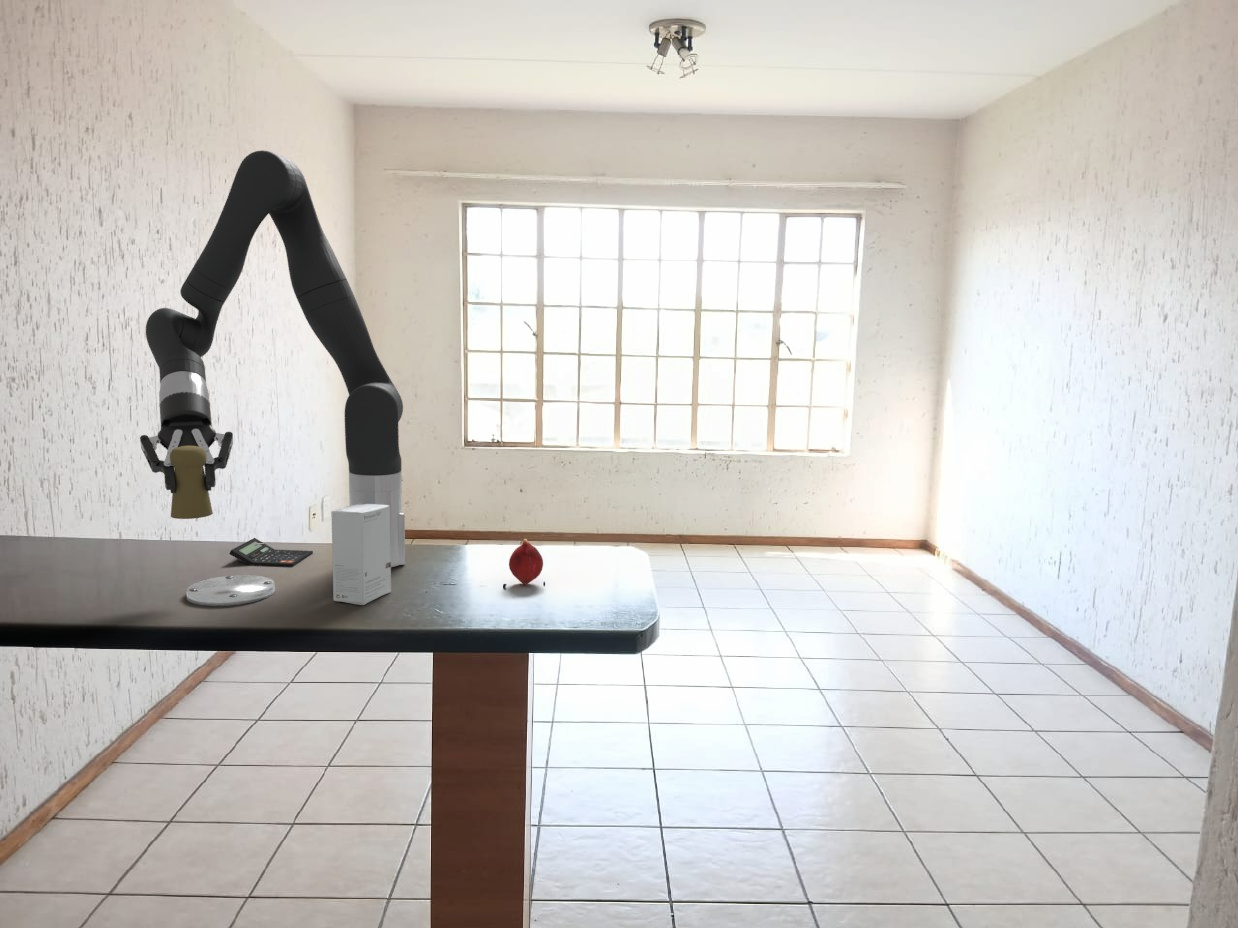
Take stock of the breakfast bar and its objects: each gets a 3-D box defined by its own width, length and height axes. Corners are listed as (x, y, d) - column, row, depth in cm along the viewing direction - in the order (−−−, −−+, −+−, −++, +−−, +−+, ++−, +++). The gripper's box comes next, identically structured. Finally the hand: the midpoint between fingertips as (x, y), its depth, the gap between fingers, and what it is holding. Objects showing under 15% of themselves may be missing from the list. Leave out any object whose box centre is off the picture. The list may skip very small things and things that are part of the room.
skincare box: (363, 606, 136) (362, 513, 134) (330, 601, 138) (328, 509, 136) (393, 591, 144) (392, 503, 142) (361, 587, 146) (360, 500, 143)
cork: (196, 519, 135) (191, 449, 133) (161, 517, 136) (157, 448, 134) (221, 512, 141) (217, 444, 139) (187, 509, 142) (183, 443, 140)
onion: (548, 582, 152) (549, 538, 151) (531, 591, 147) (532, 544, 145) (520, 577, 154) (520, 533, 153) (502, 585, 149) (503, 540, 148)
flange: (270, 578, 149) (270, 571, 149) (278, 600, 138) (278, 592, 137) (186, 586, 143) (185, 579, 143) (187, 610, 132) (186, 601, 131)
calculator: (293, 568, 157) (292, 552, 156) (229, 565, 157) (228, 549, 157) (312, 555, 166) (312, 539, 166) (252, 552, 166) (252, 537, 166)
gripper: (134, 391, 139) (137, 478, 130) (231, 389, 145) (240, 471, 136) (137, 421, 144) (141, 506, 135) (231, 417, 151) (240, 499, 142)
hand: (191, 488), depth 136 cm, fingers closed on cork, 4 cm apart
